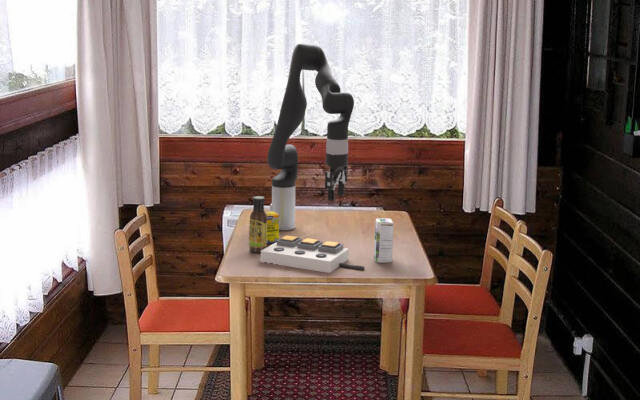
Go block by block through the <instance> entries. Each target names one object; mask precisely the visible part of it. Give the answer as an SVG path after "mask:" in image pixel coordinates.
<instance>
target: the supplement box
mask: <svg viewBox="0 0 640 400" xmlns="http://www.w3.org/2000/svg"><path fill="white" fill-rule="evenodd" d="M265 213H266V215H267V245H269V244H270V243H271V244H274V243H276V242H277V240H279V239H280V230H279V214H277V213H275V212H273V211H271V212H270V211H265ZM271 244H270V245H271Z"/></svg>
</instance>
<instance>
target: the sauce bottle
mask: <svg viewBox="0 0 640 400" xmlns="http://www.w3.org/2000/svg"><path fill="white" fill-rule="evenodd" d="M252 201H253V207H252V208H253V210H252V211H251V213H250V215H249V226H248V227H249V230H248V231H249V232H248V236H249V238H248V239H249V242H248V244H249V245H248V246H249V251H250V252H252V253H259V252H261V250H263V249H265V248H267V245H268V244H267V215H266V213H265V212H266V211H265V196H261V195H260V196H259V195H258V196H257V195H256V196H253V197H252Z"/></svg>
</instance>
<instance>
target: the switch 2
mask: <svg viewBox="0 0 640 400" xmlns="http://www.w3.org/2000/svg"><path fill="white" fill-rule="evenodd" d="M304 239H305V240H304ZM304 239H302V241H301V244H306V245H313V246H314V245H316V244H317V243H319V241H320V240H319V239H314V238H309V237H308V238H304Z"/></svg>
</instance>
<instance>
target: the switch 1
mask: <svg viewBox="0 0 640 400" xmlns="http://www.w3.org/2000/svg"><path fill="white" fill-rule="evenodd" d="M284 236H285V237H284ZM284 236H283V238H282V237H281V238H279V239H280V241H286V242H295V241H297V240H298V238H299V237H298V236H292V235H284Z"/></svg>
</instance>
